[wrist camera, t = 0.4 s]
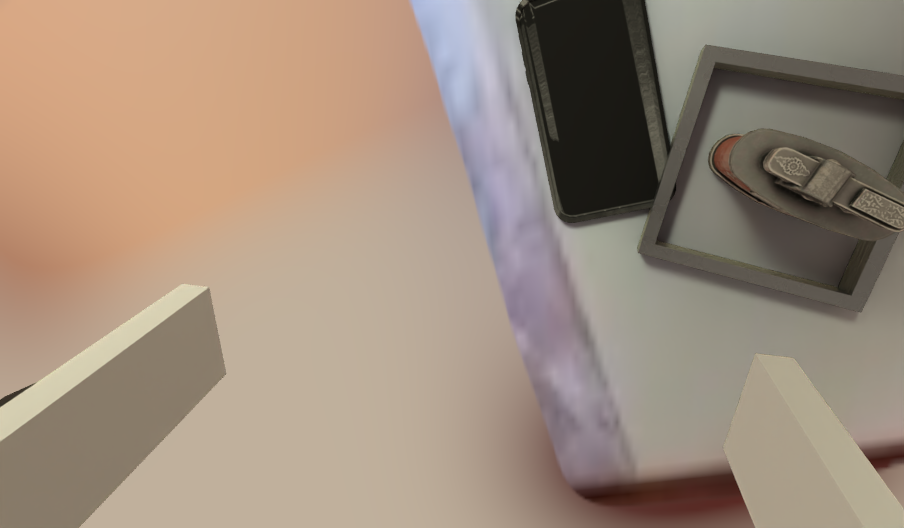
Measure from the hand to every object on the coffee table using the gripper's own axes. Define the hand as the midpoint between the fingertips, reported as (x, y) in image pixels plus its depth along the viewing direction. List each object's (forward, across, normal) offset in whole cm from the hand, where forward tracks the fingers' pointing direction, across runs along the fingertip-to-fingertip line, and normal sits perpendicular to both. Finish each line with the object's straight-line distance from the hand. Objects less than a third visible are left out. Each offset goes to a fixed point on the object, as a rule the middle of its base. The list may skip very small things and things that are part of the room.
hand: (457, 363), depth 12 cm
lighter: (+23, +16, 0) cm, 28 cm away
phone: (+26, +5, +3) cm, 27 cm away
